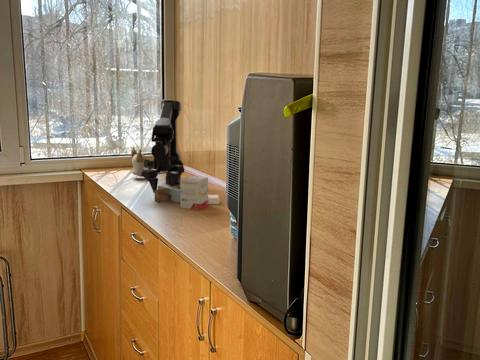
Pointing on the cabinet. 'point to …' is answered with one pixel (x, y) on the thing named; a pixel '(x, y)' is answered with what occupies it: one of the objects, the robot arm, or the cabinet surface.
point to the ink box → (194, 192)
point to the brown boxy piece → (163, 194)
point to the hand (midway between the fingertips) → (163, 191)
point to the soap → (213, 199)
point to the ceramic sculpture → (138, 162)
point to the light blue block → (172, 193)
